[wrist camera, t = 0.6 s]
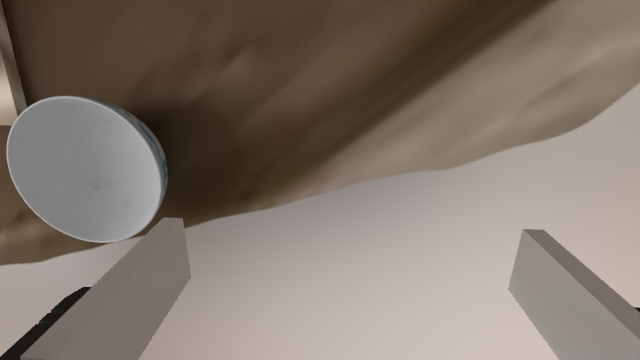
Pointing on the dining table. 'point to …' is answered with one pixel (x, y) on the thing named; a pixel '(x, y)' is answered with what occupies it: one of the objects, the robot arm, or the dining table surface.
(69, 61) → the dining table surface
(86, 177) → the chinaware
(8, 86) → the gauge board
